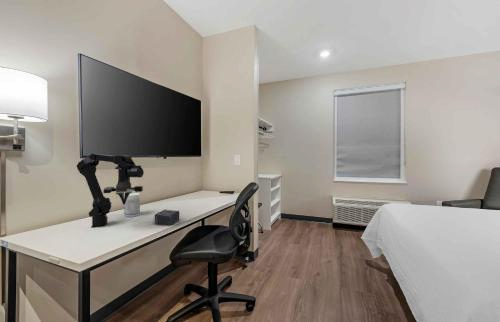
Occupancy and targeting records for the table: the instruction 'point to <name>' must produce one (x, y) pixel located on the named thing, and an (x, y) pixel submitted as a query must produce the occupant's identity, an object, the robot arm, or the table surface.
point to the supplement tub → (132, 205)
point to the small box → (166, 217)
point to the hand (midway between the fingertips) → (124, 204)
